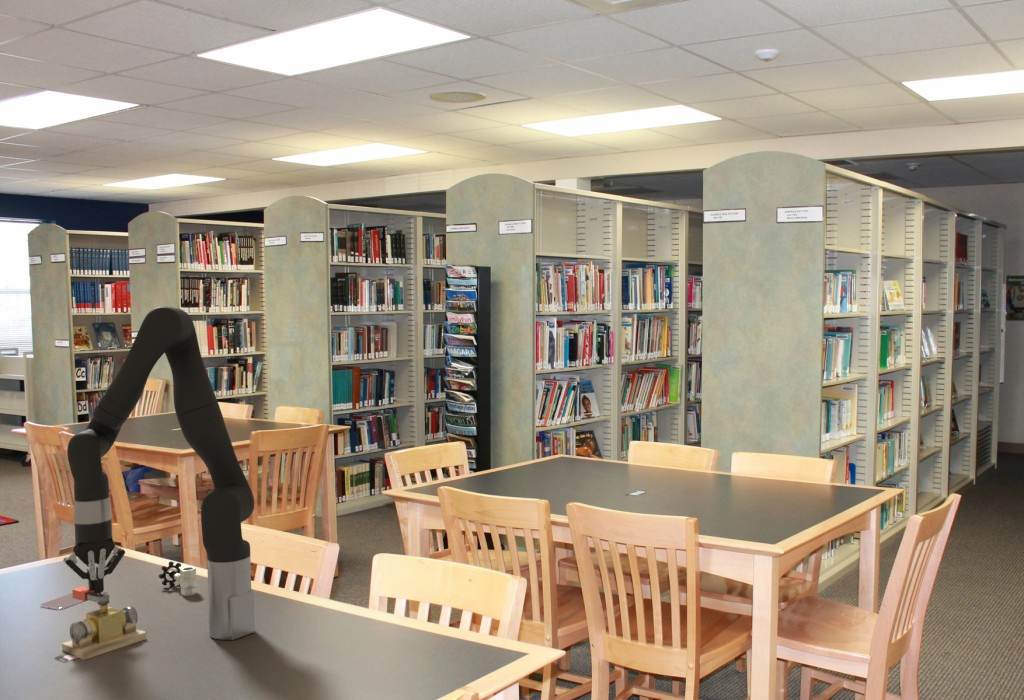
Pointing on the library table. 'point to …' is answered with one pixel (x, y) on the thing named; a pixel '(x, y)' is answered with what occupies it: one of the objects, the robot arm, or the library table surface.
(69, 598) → the mobile phone
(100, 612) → the valve body
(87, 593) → the valve lever
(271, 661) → the library table surface
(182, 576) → the valve
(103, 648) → the pipe board
